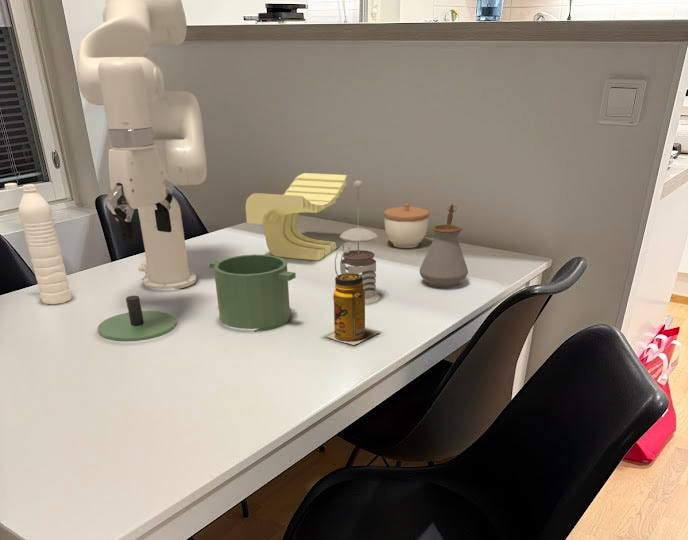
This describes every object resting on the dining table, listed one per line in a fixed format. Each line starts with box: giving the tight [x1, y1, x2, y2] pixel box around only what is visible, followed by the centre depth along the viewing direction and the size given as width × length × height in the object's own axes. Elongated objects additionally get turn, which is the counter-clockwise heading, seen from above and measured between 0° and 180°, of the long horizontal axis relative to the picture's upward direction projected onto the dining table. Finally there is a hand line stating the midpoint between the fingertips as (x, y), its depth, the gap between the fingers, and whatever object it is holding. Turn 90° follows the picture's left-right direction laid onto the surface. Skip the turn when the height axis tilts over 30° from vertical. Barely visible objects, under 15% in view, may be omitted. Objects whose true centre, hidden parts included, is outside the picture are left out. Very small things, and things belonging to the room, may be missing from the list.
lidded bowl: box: [383, 203, 431, 249], centre depth 189 cm, size 13×13×11 cm
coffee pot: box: [419, 204, 469, 289], centre depth 162 cm, size 21×12×15 cm, turn 168°
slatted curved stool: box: [245, 172, 348, 261], centre depth 183 cm, size 30×16×18 cm, turn 159°
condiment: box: [325, 272, 380, 346], centre depth 132 cm, size 7×8×12 cm
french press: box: [334, 179, 381, 305], centre depth 147 cm, size 10×12×25 cm
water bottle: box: [4, 182, 73, 305], centre depth 149 cm, size 9×6×25 cm
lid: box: [97, 295, 178, 342], centre depth 137 cm, size 16×16×7 cm
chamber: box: [208, 254, 297, 332], centre depth 141 cm, size 15×20×12 cm
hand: (147, 236), depth 130 cm, fingers open, 9 cm apart
